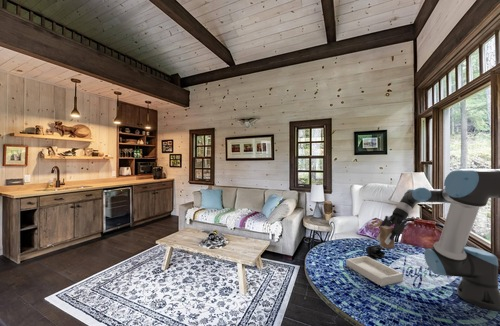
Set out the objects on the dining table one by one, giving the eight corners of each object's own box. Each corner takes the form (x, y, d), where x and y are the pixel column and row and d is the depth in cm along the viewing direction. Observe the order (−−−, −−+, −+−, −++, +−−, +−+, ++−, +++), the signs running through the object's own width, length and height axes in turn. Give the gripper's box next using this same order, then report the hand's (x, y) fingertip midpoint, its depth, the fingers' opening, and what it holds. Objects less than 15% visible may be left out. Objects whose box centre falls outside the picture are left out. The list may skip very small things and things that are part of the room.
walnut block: (394, 247, 126) (393, 227, 126) (387, 249, 125) (386, 228, 125) (386, 244, 131) (386, 225, 131) (380, 246, 130) (379, 226, 130)
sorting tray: (402, 281, 116) (402, 273, 116) (381, 286, 110) (380, 278, 110) (366, 261, 138) (366, 255, 138) (346, 265, 133) (346, 259, 133)
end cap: (376, 252, 153) (376, 243, 153) (385, 256, 146) (385, 247, 146) (365, 255, 149) (365, 245, 149) (374, 259, 142) (374, 249, 142)
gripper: (420, 218, 123) (399, 251, 119) (392, 212, 141) (373, 240, 136) (413, 210, 122) (392, 243, 118) (385, 204, 139) (366, 233, 135)
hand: (382, 241), depth 127 cm, fingers closed on walnut block, 5 cm apart
